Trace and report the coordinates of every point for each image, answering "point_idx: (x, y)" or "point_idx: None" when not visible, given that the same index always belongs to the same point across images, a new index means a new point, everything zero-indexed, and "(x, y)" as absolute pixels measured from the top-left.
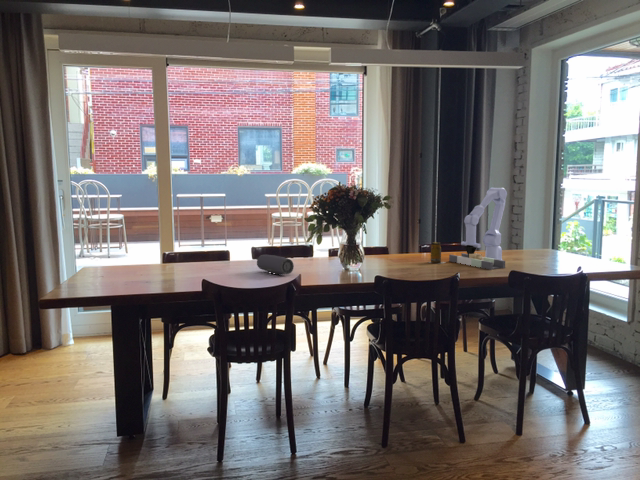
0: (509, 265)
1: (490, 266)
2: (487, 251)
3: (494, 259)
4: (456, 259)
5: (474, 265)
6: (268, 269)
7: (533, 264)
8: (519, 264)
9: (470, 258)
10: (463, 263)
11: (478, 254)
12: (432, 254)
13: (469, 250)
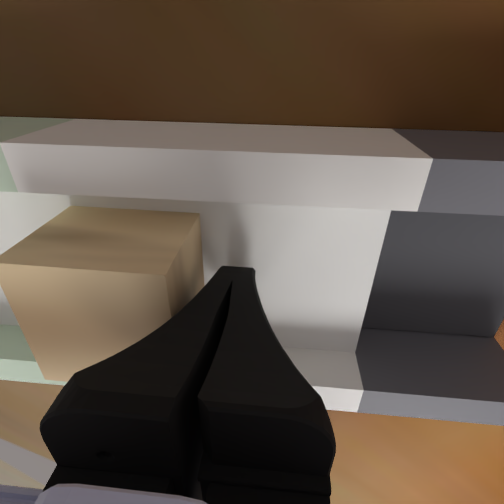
0: (5, 396)
1: None
2: None
3: None
4: (427, 140)
5: (3, 118)
6: None
7: (13, 484)
8: (32, 451)
9: (50, 163)
10: (241, 126)
11: (37, 340)
12: None
13: (152, 346)
